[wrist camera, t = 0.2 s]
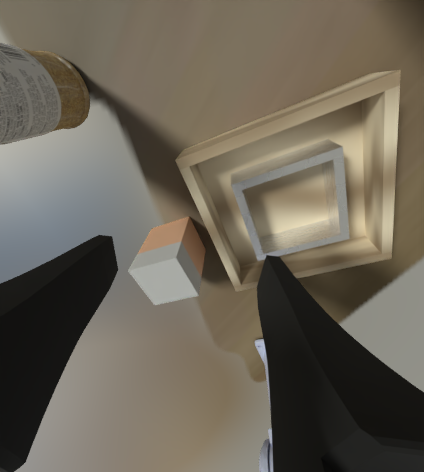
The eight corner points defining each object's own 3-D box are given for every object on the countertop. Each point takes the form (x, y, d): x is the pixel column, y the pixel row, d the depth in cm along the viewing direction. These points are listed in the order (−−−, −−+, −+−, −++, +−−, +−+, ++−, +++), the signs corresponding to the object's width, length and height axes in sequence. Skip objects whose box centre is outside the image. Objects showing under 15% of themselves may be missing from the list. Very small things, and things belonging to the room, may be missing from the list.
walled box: (371, 237, 20) (391, 258, 18) (235, 270, 24) (236, 291, 21) (370, 73, 14) (400, 70, 11) (183, 149, 17) (175, 160, 15)
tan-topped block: (205, 249, 22) (198, 295, 17) (170, 258, 23) (154, 305, 18) (189, 216, 20) (176, 257, 15) (151, 228, 21) (128, 270, 16)
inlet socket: (336, 222, 19) (349, 238, 17) (255, 244, 21) (258, 261, 19) (327, 138, 16) (342, 146, 14) (230, 173, 18) (231, 185, 15)
